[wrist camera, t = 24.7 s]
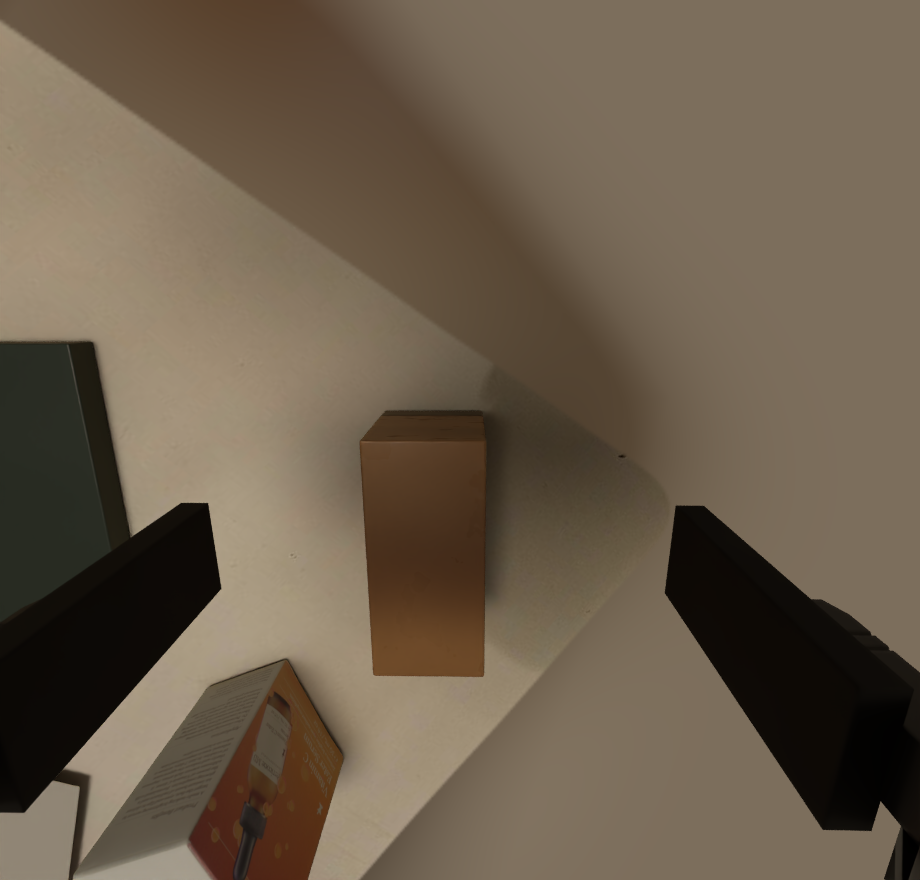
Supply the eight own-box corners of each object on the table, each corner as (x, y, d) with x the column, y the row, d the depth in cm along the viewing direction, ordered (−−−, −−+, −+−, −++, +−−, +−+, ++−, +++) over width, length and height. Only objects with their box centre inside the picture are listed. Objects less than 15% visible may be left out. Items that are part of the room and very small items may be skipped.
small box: (346, 756, 31) (284, 978, 20) (268, 781, 31) (170, 1009, 21) (287, 655, 29) (186, 843, 19) (205, 684, 29) (64, 881, 19)
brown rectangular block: (384, 410, 25) (358, 440, 19) (482, 410, 25) (486, 440, 19) (393, 600, 28) (372, 676, 22) (481, 600, 28) (484, 677, 22)
